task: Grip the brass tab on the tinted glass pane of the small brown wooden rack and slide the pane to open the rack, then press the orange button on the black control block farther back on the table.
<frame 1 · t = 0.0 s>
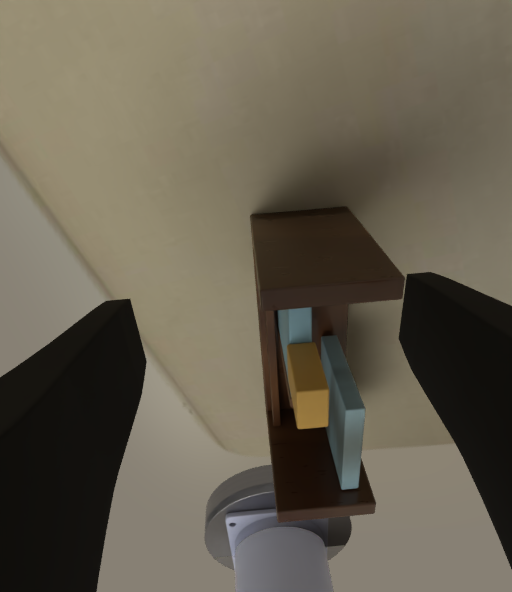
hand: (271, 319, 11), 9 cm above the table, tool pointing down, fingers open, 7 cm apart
brown wooden rack: (300, 321, 21), on the table
pane: (296, 338, 16), point 5 cm above the table, slide at 0.0 cm
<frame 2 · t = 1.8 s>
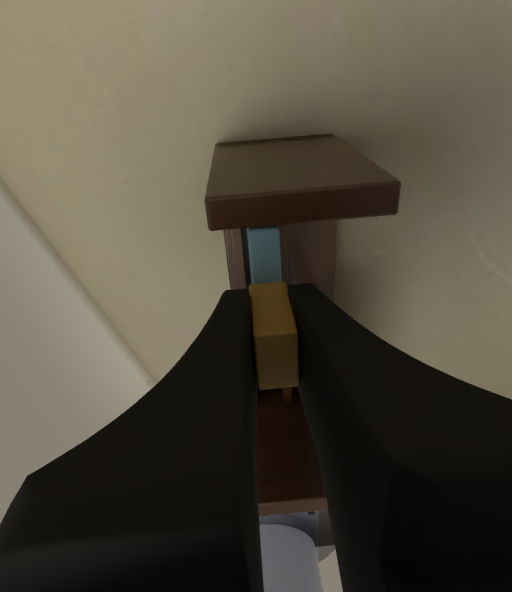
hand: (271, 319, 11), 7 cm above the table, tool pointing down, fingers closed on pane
brown wooden rack: (280, 281, 18), on the table
pane: (265, 285, 12), point 5 cm above the table, slide at 0.0 cm, touching gripper
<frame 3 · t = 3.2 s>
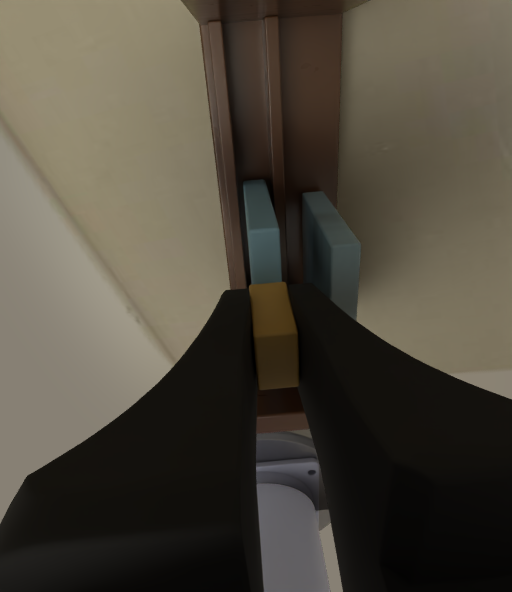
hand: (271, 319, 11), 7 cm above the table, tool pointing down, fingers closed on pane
brown wooden rack: (276, 182, 16), on the table
pane: (265, 285, 12), point 5 cm above the table, slide at 4.4 cm, touching gripper
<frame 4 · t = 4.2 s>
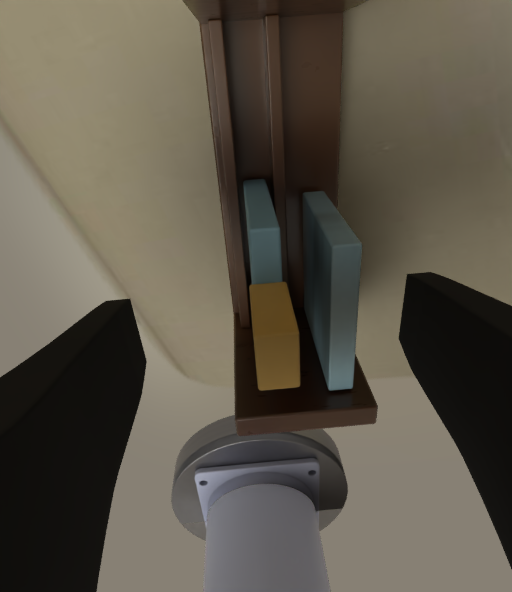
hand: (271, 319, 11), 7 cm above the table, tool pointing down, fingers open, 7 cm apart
brown wooden rack: (276, 182, 16), on the table
pane: (265, 285, 12), point 5 cm above the table, slide at 4.4 cm
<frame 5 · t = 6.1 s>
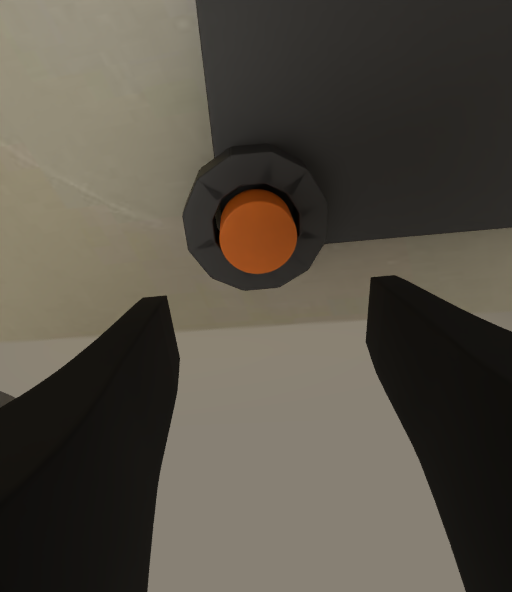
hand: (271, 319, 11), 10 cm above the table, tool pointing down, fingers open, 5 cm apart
button: (257, 231, 16), point 3 cm above the table, slide at 0.1 cm
button block: (395, 121, 18), on the table
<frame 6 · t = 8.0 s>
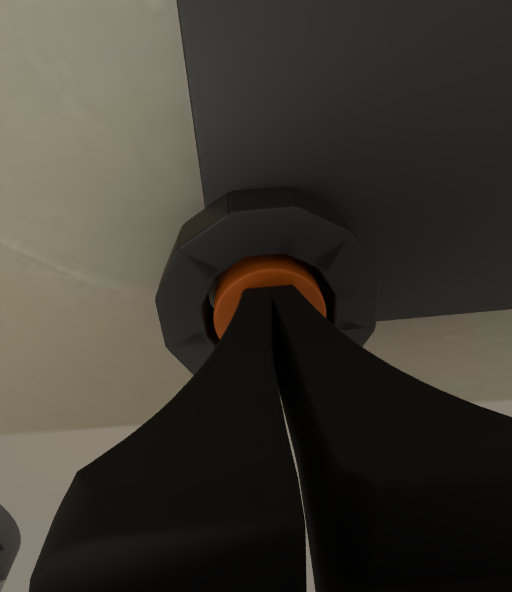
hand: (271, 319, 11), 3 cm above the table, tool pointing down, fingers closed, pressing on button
button: (267, 303, 11), point 2 cm above the table, slide at -1.0 cm, touching gripper
button block: (474, 150, 12), on the table
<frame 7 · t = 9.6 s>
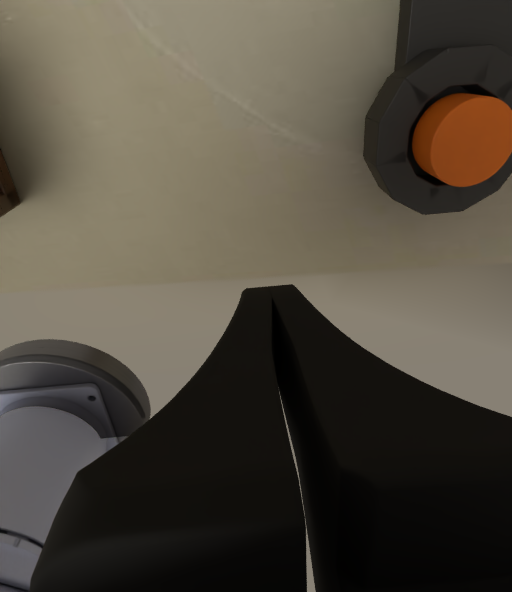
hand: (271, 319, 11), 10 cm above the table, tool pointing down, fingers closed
button: (461, 140, 15), point 3 cm above the table, slide at 0.1 cm
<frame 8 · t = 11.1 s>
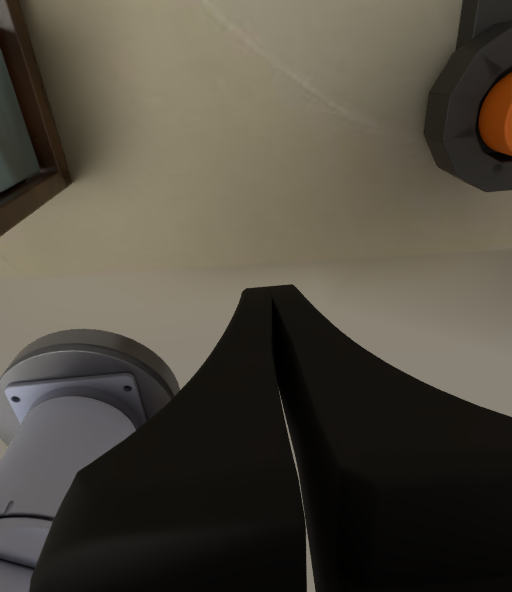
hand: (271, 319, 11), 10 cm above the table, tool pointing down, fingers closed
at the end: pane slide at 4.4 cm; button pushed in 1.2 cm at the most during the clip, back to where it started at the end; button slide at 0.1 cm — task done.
